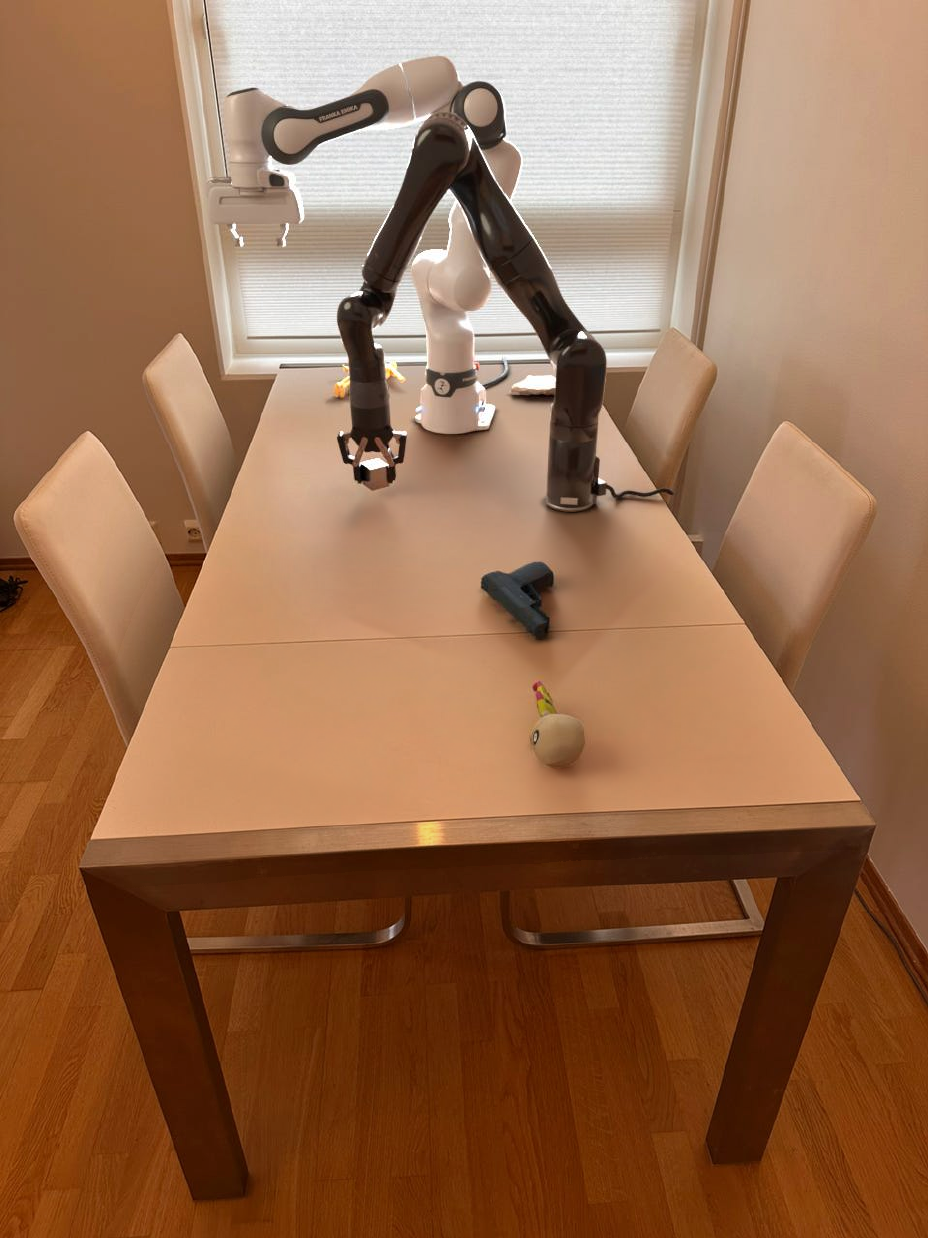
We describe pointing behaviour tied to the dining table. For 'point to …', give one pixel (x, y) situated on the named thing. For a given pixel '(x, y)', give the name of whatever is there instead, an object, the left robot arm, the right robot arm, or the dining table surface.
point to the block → (375, 474)
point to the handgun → (522, 594)
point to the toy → (555, 733)
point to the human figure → (345, 383)
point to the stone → (535, 386)
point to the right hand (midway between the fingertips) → (375, 481)
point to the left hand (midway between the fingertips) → (260, 245)
